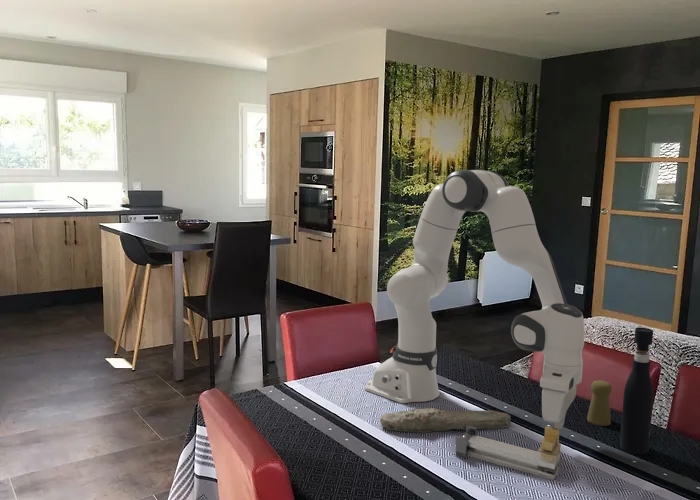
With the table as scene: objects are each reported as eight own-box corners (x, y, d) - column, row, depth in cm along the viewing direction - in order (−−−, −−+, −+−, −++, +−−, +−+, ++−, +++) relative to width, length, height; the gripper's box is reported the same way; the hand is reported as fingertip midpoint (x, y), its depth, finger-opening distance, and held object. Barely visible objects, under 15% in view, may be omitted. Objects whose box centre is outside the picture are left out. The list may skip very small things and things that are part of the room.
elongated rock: (516, 437, 153) (503, 423, 162) (518, 418, 152) (504, 404, 162) (383, 435, 149) (377, 420, 159) (384, 414, 149) (378, 401, 159)
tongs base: (455, 455, 140) (456, 436, 139) (466, 443, 146) (467, 425, 145) (551, 483, 128) (553, 462, 127) (559, 469, 134) (561, 449, 133)
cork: (613, 426, 156) (616, 387, 155) (589, 424, 157) (592, 385, 156) (608, 417, 162) (611, 378, 160) (585, 415, 163) (587, 377, 162)
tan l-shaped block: (539, 448, 135) (540, 433, 135) (545, 440, 140) (546, 425, 139) (553, 452, 134) (554, 437, 133) (558, 443, 138) (559, 428, 137)
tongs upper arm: (457, 447, 140) (458, 437, 140) (465, 439, 144) (465, 429, 144) (553, 473, 129) (554, 462, 128) (558, 464, 133) (559, 453, 132)
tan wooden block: (537, 464, 136) (538, 450, 135) (544, 453, 141) (545, 439, 141) (553, 469, 134) (554, 454, 133) (559, 457, 139) (560, 443, 139)
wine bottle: (614, 442, 147) (624, 326, 143) (638, 441, 148) (649, 325, 143) (628, 455, 141) (639, 333, 136) (654, 454, 141) (665, 333, 137)
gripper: (558, 357, 152) (555, 408, 154) (538, 382, 135) (534, 439, 137) (584, 362, 149) (581, 414, 151) (566, 388, 131) (563, 446, 133)
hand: (558, 426), depth 144 cm, fingers closed
